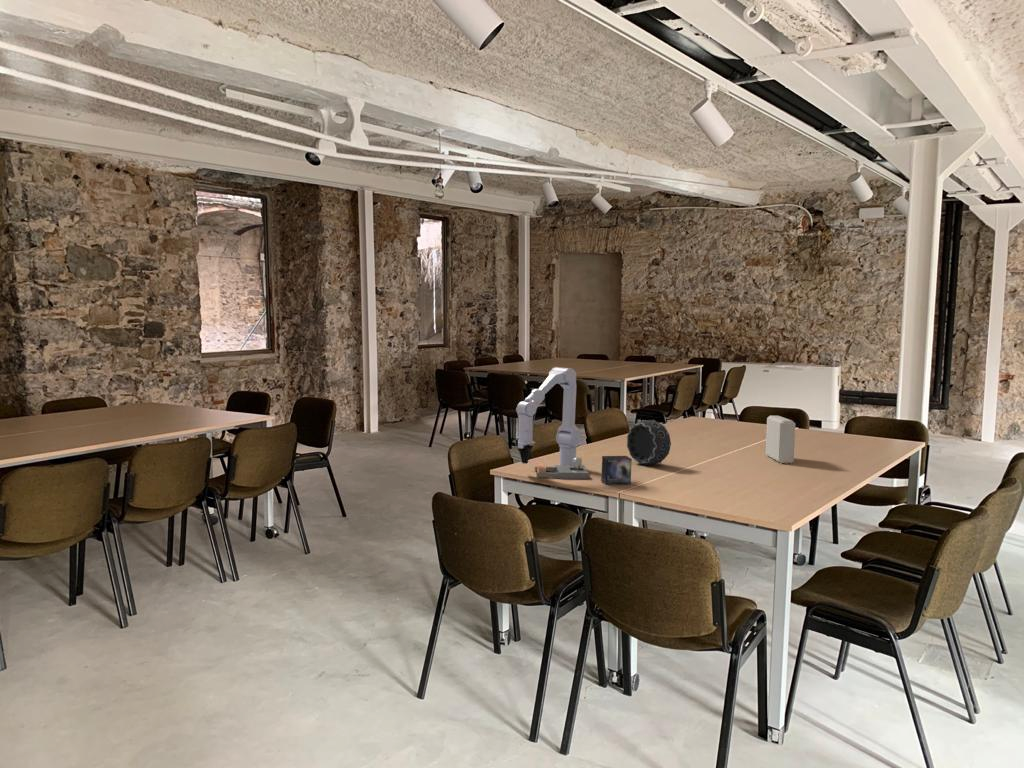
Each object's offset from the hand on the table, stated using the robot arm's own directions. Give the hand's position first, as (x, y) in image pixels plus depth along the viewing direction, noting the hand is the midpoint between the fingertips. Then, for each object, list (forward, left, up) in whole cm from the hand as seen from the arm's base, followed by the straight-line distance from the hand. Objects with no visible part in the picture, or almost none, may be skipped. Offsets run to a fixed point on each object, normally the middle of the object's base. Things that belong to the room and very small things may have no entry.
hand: (524, 463), depth 311 cm
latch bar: (0, +7, -5) cm, 9 cm away
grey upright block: (-40, +123, -5) cm, 129 cm away
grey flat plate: (0, +15, -5) cm, 16 cm away
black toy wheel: (-25, +57, -5) cm, 62 cm away
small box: (+15, +36, -5) cm, 39 cm away
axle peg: (0, +22, -5) cm, 22 cm away
